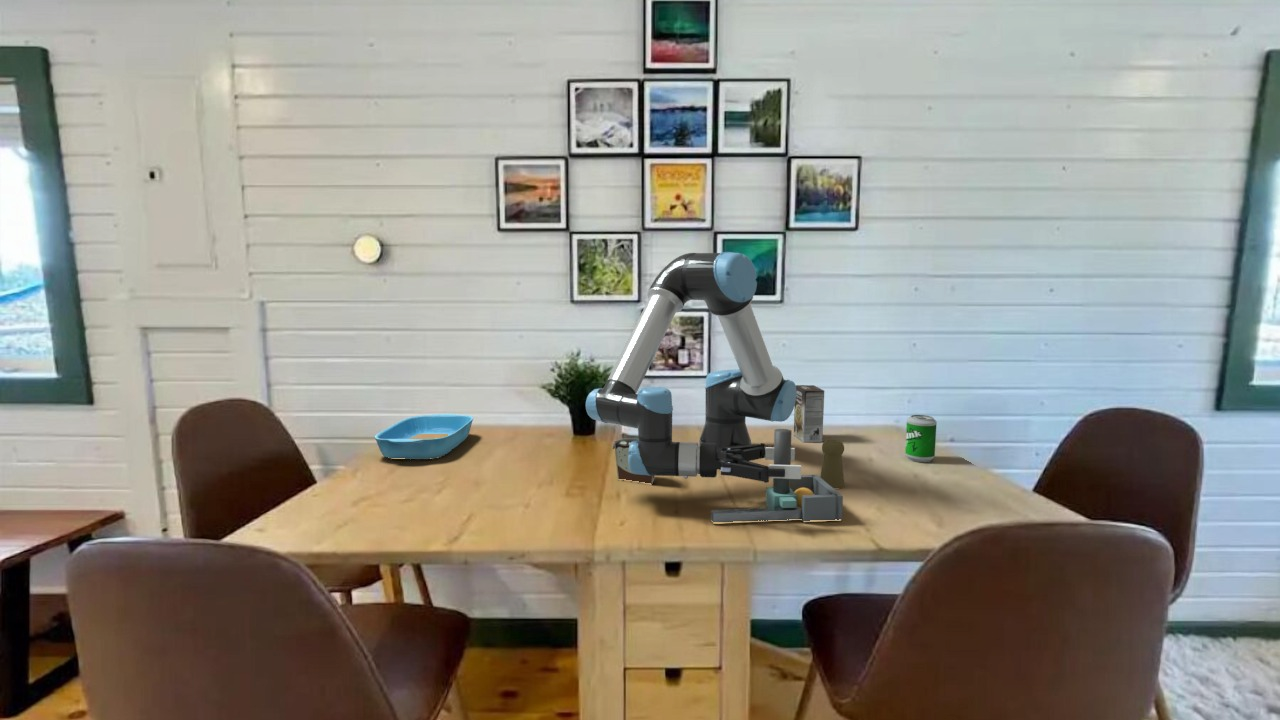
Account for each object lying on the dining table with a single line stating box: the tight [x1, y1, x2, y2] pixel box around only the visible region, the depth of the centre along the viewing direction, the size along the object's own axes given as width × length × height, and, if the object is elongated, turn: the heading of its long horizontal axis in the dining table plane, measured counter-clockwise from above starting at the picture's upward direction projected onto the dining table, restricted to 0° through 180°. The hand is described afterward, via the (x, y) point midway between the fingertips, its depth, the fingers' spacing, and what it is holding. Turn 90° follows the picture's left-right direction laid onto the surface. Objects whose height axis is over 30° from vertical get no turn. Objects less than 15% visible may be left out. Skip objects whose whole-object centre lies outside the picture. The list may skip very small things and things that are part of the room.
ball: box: [794, 488, 814, 509], centre depth 149 cm, size 5×5×5 cm
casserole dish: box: [374, 413, 474, 460], centre depth 203 cm, size 37×22×7 cm, turn 178°
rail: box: [710, 506, 802, 522], centre depth 143 cm, size 19×2×2 cm, turn 96°
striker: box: [765, 428, 797, 508], centre depth 147 cm, size 5×8×18 cm, turn 6°
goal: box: [790, 474, 844, 521], centre depth 150 cm, size 8×15×6 cm, turn 6°
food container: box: [612, 437, 656, 485], centre depth 171 cm, size 12×6×10 cm, turn 65°
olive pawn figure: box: [819, 439, 845, 489], centre depth 166 cm, size 6×6×11 cm
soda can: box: [904, 414, 938, 463], centre depth 187 cm, size 8×8×12 cm
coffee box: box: [793, 384, 825, 443], centre depth 210 cm, size 9×6×16 cm
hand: (797, 462), depth 147 cm, fingers open, 13 cm apart
